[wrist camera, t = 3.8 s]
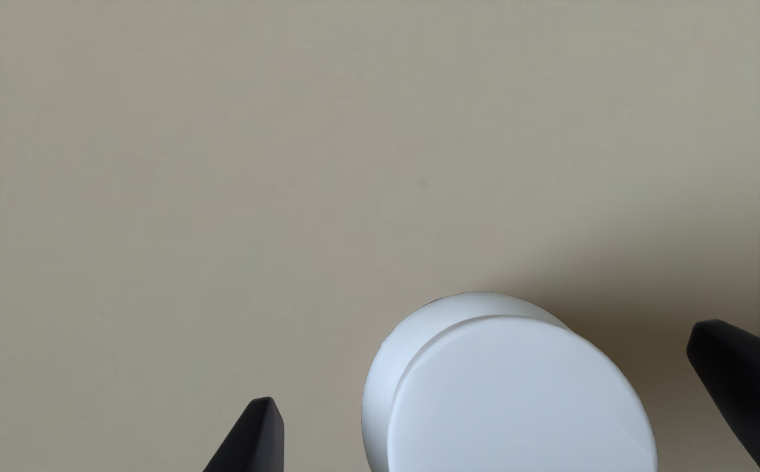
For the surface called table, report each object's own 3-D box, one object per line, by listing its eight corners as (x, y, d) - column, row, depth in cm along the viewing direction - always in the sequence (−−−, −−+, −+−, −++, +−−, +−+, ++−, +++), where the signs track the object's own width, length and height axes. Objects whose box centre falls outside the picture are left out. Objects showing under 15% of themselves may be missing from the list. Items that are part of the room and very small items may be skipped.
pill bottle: (515, 304, 16) (673, 262, 7) (535, 457, 15) (765, 675, 5) (375, 313, 16) (332, 284, 7) (383, 464, 15) (346, 683, 6)
